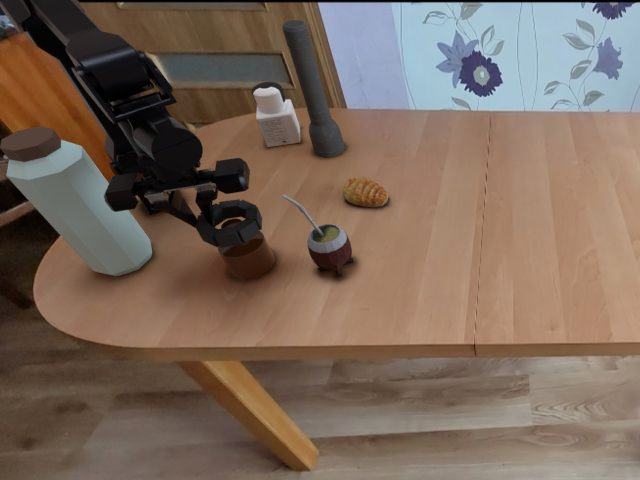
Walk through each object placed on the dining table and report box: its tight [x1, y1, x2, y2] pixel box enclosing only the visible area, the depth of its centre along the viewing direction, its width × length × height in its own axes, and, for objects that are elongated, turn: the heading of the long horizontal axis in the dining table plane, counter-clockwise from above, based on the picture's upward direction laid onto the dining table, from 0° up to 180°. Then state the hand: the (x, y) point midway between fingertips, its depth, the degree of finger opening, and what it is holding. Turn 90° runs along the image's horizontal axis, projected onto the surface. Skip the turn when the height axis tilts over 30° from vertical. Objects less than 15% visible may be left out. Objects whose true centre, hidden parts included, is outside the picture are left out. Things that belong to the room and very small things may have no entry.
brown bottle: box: [217, 218, 276, 280], centre depth 82 cm, size 8×8×10 cm
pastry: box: [341, 176, 389, 208], centre depth 98 cm, size 9×7×4 cm
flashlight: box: [281, 19, 346, 158], centre depth 101 cm, size 7×28×7 cm
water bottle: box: [0, 125, 153, 277], centre depth 76 cm, size 10×10×25 cm
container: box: [251, 81, 301, 148], centre depth 110 cm, size 8×8×13 cm
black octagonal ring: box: [195, 198, 263, 248], centre depth 78 cm, size 9×9×2 cm
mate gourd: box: [281, 193, 354, 278], centre depth 80 cm, size 8×8×15 cm
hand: (205, 225), depth 77 cm, fingers closed on black octagonal ring, 2 cm apart
